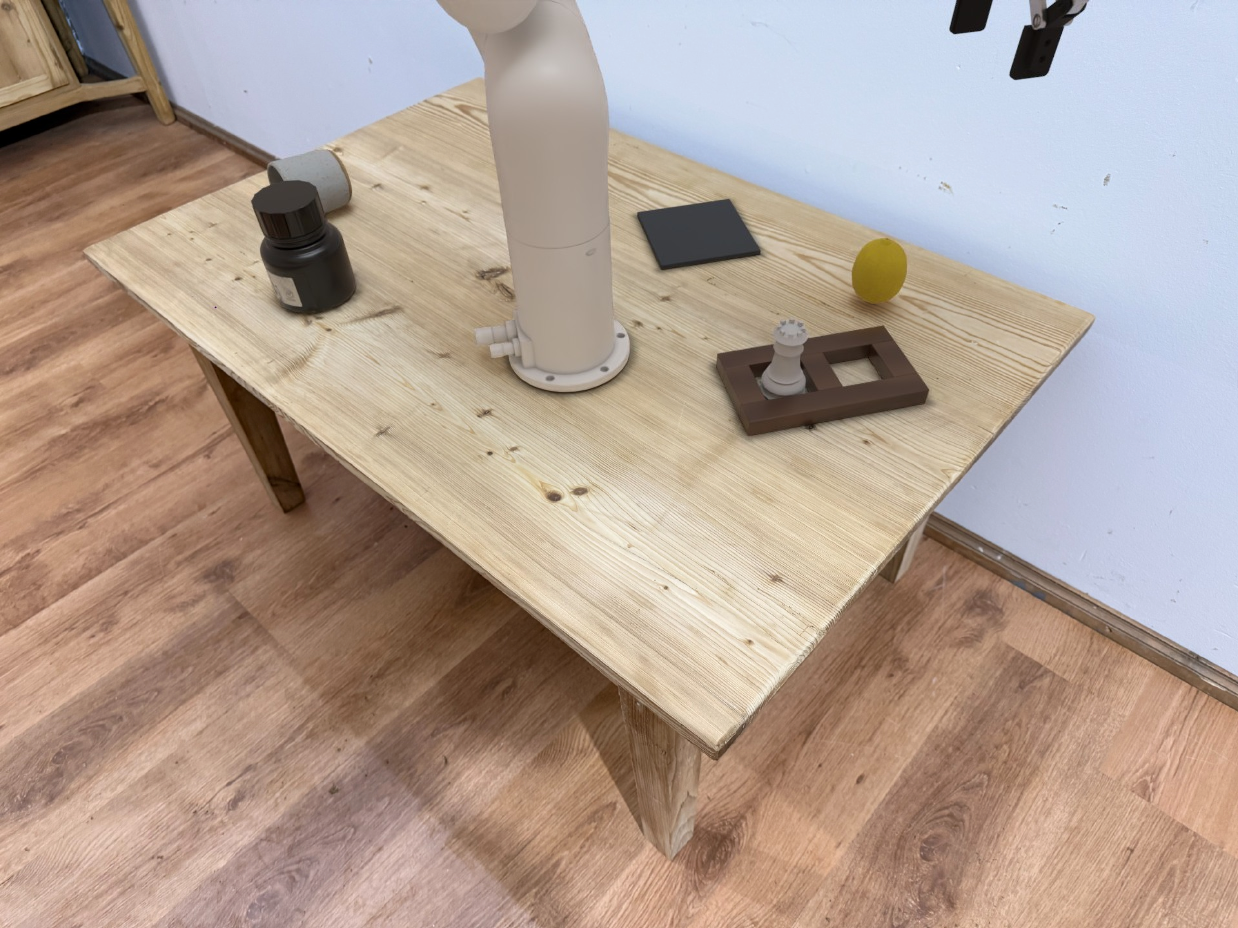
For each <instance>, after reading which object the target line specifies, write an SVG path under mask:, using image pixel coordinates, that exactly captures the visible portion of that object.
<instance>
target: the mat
mask: <svg viewBox="0 0 1238 928" xmlns="http://www.w3.org/2000/svg"><path fill="white" fill-rule="evenodd" d="M636 216H637V219H638V221H639V223H640V225H641V227H642V230H643V232H644V234H645V237H646V238H647V241H648V244H649V245H650V247H651V249H652V252H653V254H654V256H655V259H656V261H657V264H658V266H659V267H660V269H661V271H662V270H668V269H674V268H675V269H676V268H681V267H688V266H694V265H700V264H707V263H714V262H720V261H727V260H732V259H733V260H734V259H741V258H745V257H746V258H747V257H752V256H758V255H761V250H762V249H761V248H760V247H759V245H758V243H757V242H756V240H755V239H754V237H753V235H752V234H751V232H750V231H749V228H748V227H747V226H746V224H745V222H744V220H743V219H742V217H741V215H740V214H739V212H738V211H737V209H736V208H735V205H734V204H733V202H732V201H731V199H730V198H724V199H718V200H711V201H704V202H697V203H690V204H683V205H676V206H670V207H663V208H657V209H649V210H643V211H637V212H636Z"/></svg>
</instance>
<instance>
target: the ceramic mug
mask: <svg viewBox="0 0 1238 928" xmlns="http://www.w3.org/2000/svg"><path fill="white" fill-rule="evenodd" d="M266 175H267V179H268V183H269V185H271V184H273V183H278V182H282V181H286V180H300V181H306V182H310V183H311V184H313V185H314V186H316V188H317V191H318V193H319V196H320V199H321V203H322V206H323V209H324V212H325V214H328V213H330V212H332V211H335V210H337V209H340V208H342V207H344V206H345V205H347V204H349V203H350V201H351V200H352V196H353V187H352V181H351V179H350V176H349V173H348V170H347V168H346V166H345V164H344V162H343V161H342V159H341V158H340V157H339V156H338V155H337V154H336V153H335V152H334V151H332V150H331V149H329V148H327V149H326V148H325V149H315V150H312V151H307V152H304V153H301V154H297V155H293V156H288V157H284V158H280V159H277V160H273V161H270V162H269V163H267V166H266Z"/></svg>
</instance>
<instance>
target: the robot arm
mask: <svg viewBox="0 0 1238 928" xmlns="http://www.w3.org/2000/svg"><path fill="white" fill-rule="evenodd" d="M435 1H436V3H437V4H438V5H439V6H440V7H441V9H442V10H443V11H444V12H445V13H446V14H447V15H448V16H449V17H451V18H452V19H453V20H454V21H456V22H457V23H458V24H459V25H461V26H463V27H464V28H466V29H467V31H468V33H469V35H470V36H471V39H472V41H473V42H474V45H475V46H476V48H477V51H478V52H479V55H480V57H481V60H482V62H483V68H484V87H485V102H486V103H485V104H486V114H487V123H488V130H489V136H490V142H491V148H492V153H493V158H494V164H495V171H496V176H497V182H498V183H497V184H498V189H499V195H500V196H499V197H500V204H501V210H502V216H503V217H502V218H503V224H504V228H505V229H504V230H505V235H506V241H507V246H508V247H507V248H508V256H509V262H510V269H511V276H512V284H513V290H514V296H515V304H516V308H513V309H512V316H513V319H509V320H508V319H507V320H504V324H501V325H500V324H499V325H494V326H492V325H489V326H483V327H476V328H474V329H473V330H474V336H475V342H476V347H477V348H482V347H489V352H490V357H491V359H497V358H503V357H504V356H505V357H506V356H508V361H509V364H510V367H511V369H512V371H513V372H514V373H515V374H516V375H517V376H518V377H519V378H520V379H521V380H522V381H524V382H526V383H527V384H529V385H530V386H533V387H536V388H538V389H541V390H546V391H549V392H550V391H551V392H559V393H572V392H573V393H574V392H580V391H586V390H589V389H590V390H591V389H593V388H596V387H598V386H599V387H600V385H603V384H605V383H607V382H609V381H610V380H612V379H613V378H615V377H616V376H617V375H618V374H619V373H620V372H621V371H622V370H623V369H624V368H625V366H626V365H627V363H628V360H629V358H630V353H631V341H630V336H629V334H628V332H627V330H626V329H625V327H624V326H623V324H621V322H619V321H618V320H617V319H616V318H615V315H614V312H615V311H614V290H613V268H612V267H613V266H612V241H611V239H612V238H611V219H610V217H611V216H610V203H609V201H610V199H609V149H610V111H609V101H608V95H607V90H606V85H605V81H604V77H603V73H602V70H601V67H600V64H599V60H598V58H597V54H596V52H595V50H594V46H593V42H592V40H591V36H590V34H589V31H588V28H587V25H586V23H585V20H584V18H583V15H582V13H581V11H580V8H579V6H578V2H577V0H435ZM993 2H994V0H955V4H954V7H953V12H952V15H951V20H950V23H949V28H948V29H949V32H950V33H951V34H952V35H961V34H970V33H978V32H982V31H984V30H985V29H986V27H987V23H988V19H989V16H990V12H991V9H992V5H993ZM1089 2H1090V0H1055V1H1054V2H1053V3H1051V4H1050V5H1049V6H1048V5H1047V0H1028V4H1029V13H1030V23H1031V24H1024V25H1023V28H1022V30H1021V33H1020V37H1019V40H1018V43H1017V46H1016V47H1017V48H1016V50H1015V53H1014V57H1013V60H1012V62H1011V67H1010V69H1009V73H1008V76H1009V78H1010V79H1012V80H1014V81H1021V80H1028V79H1035V78H1043V77H1046V76H1048V74H1049V72H1050V70H1051V67H1052V64H1053V61H1054V58H1055V56H1056V52H1057V50H1058V46H1059V43H1060V41H1061V38H1062V35H1063V32H1064V30H1065V27H1068V26H1071V25H1072V23H1073V21H1074V19H1075V18H1076V17H1077V16H1079V15H1080V14H1082V13H1083V12H1084V11H1085V10H1086V9H1087V4H1088V3H1089Z"/></svg>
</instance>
